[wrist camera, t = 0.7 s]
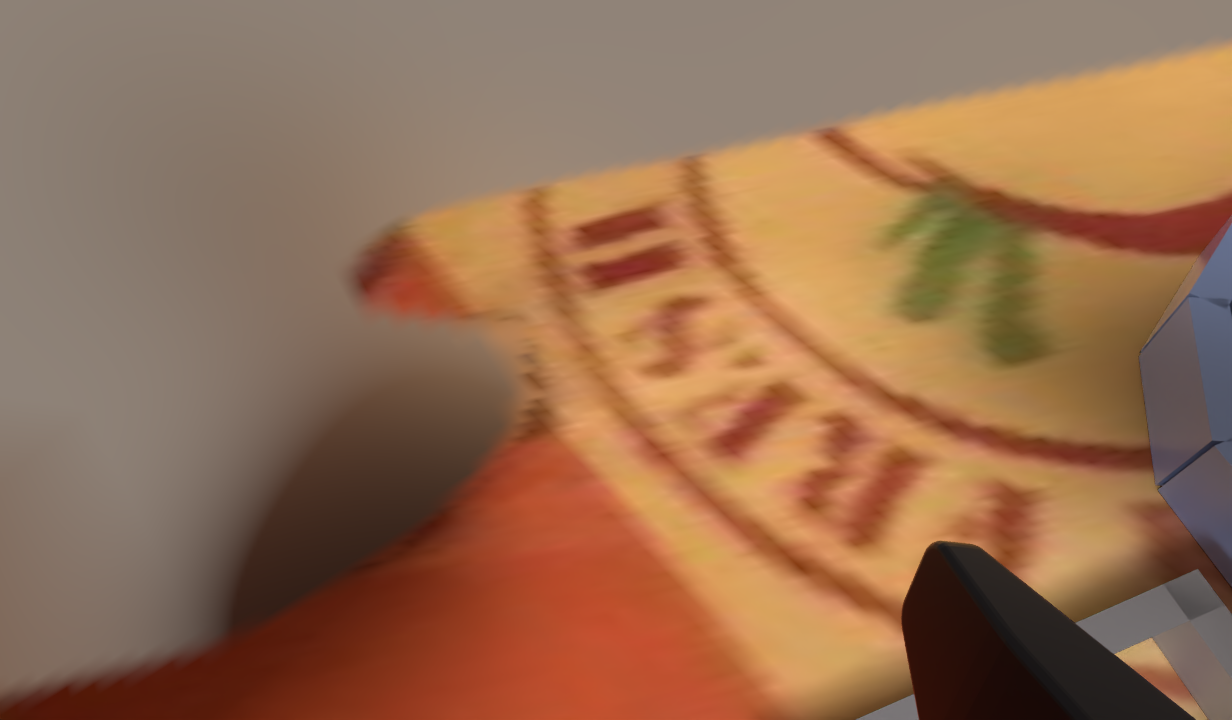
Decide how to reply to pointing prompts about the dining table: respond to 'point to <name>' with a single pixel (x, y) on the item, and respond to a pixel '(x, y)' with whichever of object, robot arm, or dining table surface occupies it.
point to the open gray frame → (1158, 641)
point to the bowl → (1195, 401)
